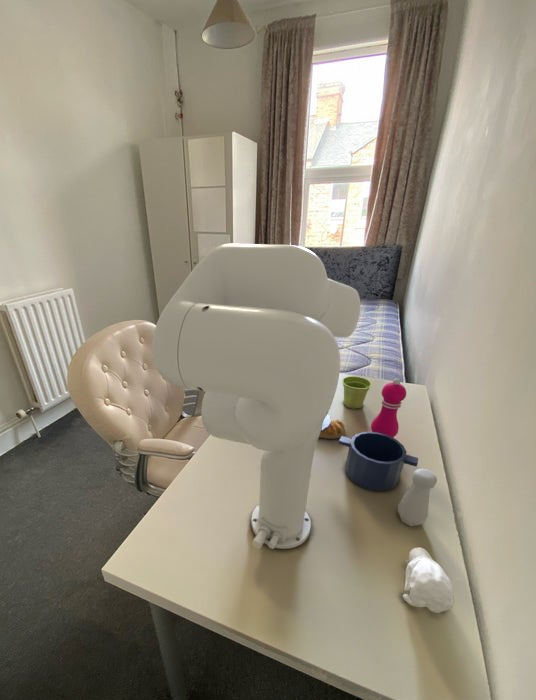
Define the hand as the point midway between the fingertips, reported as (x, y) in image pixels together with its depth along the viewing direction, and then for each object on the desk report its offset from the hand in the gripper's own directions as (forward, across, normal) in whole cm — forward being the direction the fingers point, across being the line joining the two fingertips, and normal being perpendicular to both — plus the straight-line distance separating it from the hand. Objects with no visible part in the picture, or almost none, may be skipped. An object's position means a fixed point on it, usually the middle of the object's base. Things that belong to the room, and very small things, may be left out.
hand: (302, 414), depth 82 cm
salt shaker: (+15, +6, +28) cm, 32 cm away
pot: (+15, -5, +18) cm, 24 cm away
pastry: (+15, -17, +4) cm, 23 cm away
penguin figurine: (+15, +22, +31) cm, 41 cm away
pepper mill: (+15, -21, +18) cm, 31 cm away
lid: (+1, 0, 0) cm, 1 cm away
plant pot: (+15, -38, +6) cm, 41 cm away
